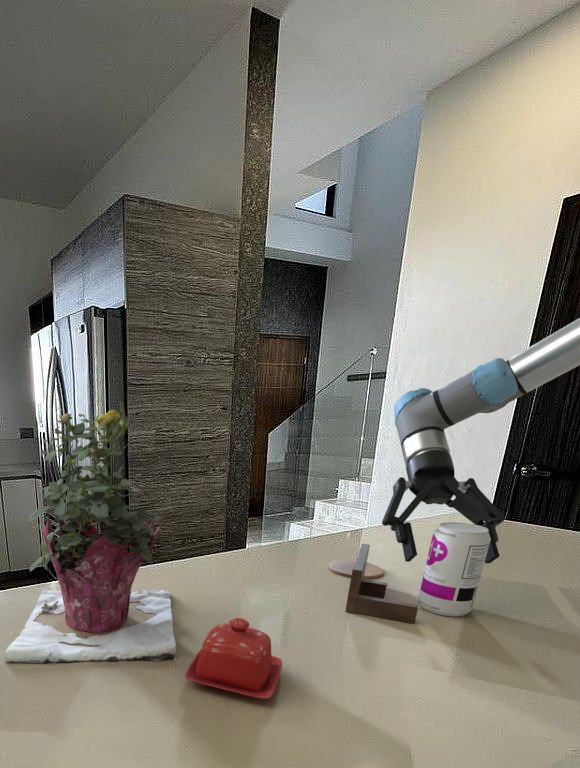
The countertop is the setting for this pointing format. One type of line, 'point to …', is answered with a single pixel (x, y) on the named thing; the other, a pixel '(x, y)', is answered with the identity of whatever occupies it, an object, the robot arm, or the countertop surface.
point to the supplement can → (454, 568)
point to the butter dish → (237, 661)
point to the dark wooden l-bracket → (374, 595)
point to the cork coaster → (347, 566)
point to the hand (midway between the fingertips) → (451, 559)
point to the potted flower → (95, 562)
